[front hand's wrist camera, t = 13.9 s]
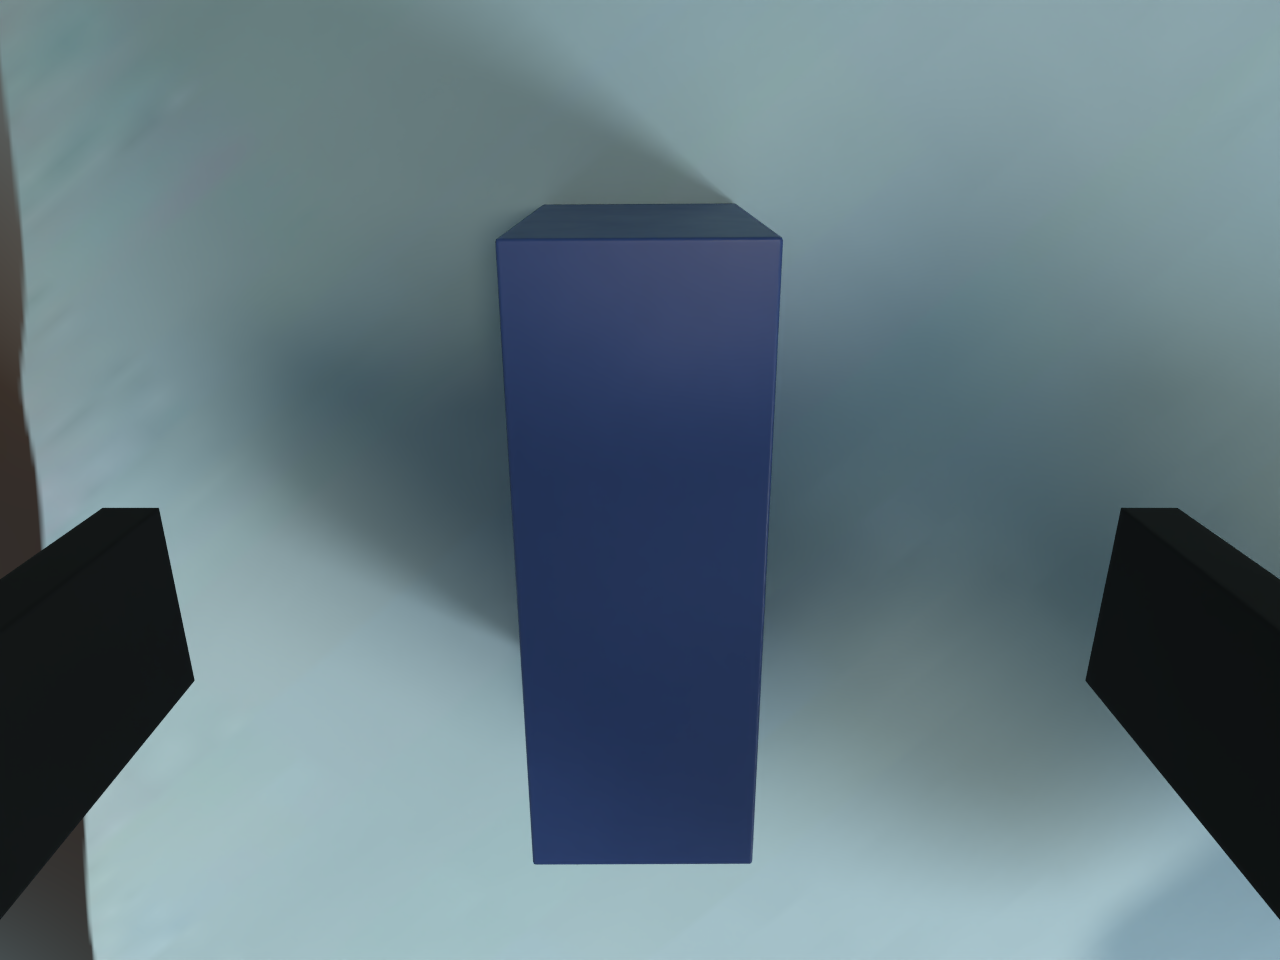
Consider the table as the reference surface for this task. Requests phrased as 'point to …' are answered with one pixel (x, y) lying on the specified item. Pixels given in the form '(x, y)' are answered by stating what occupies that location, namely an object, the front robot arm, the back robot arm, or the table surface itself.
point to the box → (640, 521)
